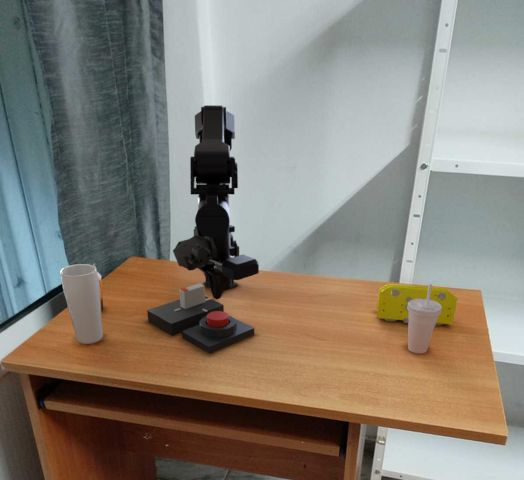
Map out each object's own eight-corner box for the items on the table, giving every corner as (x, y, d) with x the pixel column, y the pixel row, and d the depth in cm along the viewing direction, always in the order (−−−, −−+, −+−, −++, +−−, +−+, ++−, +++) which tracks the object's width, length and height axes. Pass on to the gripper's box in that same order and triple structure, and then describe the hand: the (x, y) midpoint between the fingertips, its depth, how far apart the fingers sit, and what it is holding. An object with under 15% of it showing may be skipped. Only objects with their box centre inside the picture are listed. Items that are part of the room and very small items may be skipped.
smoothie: (415, 359, 104) (427, 292, 97) (394, 345, 109) (403, 280, 102) (440, 352, 106) (453, 286, 99) (418, 338, 111) (429, 275, 104)
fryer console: (198, 304, 125) (197, 291, 124) (225, 317, 119) (224, 304, 118) (147, 322, 117) (145, 308, 115) (173, 337, 111) (172, 323, 109)
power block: (226, 321, 118) (226, 306, 116) (254, 335, 112) (254, 320, 110) (182, 338, 110) (180, 323, 109) (209, 354, 105) (208, 338, 103)
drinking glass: (113, 335, 111) (104, 266, 104) (91, 349, 106) (80, 278, 98) (88, 329, 114) (77, 261, 106) (65, 342, 108) (52, 272, 101)
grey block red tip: (200, 299, 120) (199, 282, 118) (205, 302, 119) (204, 284, 117) (180, 306, 117) (179, 288, 115) (185, 309, 116) (184, 291, 113)
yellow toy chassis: (376, 322, 118) (380, 286, 114) (376, 311, 123) (380, 277, 119) (451, 328, 115) (459, 293, 111) (448, 317, 120) (455, 282, 116)
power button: (219, 316, 112) (219, 309, 111) (233, 323, 110) (233, 315, 109) (202, 322, 110) (202, 315, 109) (216, 330, 107) (216, 322, 106)
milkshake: (110, 305, 124) (104, 264, 119) (102, 315, 120) (95, 272, 115) (91, 304, 125) (84, 263, 120) (82, 314, 120) (75, 272, 115)
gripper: (149, 218, 100) (156, 295, 108) (212, 241, 89) (215, 326, 96) (196, 208, 107) (200, 281, 115) (261, 228, 95) (260, 308, 103)
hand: (217, 298), depth 107 cm, fingers closed
